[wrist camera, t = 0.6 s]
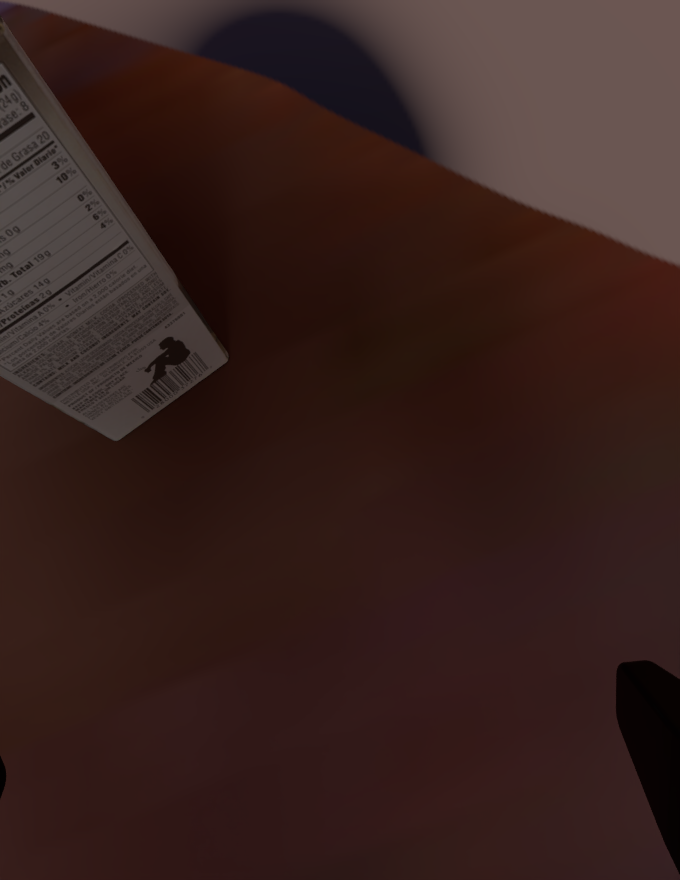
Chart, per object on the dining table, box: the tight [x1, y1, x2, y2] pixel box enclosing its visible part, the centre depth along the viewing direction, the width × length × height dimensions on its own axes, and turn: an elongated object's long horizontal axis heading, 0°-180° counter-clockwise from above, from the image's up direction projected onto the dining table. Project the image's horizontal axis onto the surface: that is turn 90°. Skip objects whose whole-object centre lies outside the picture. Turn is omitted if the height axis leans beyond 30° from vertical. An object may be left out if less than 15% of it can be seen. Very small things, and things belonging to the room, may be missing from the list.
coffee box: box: [0, 16, 229, 441], centre depth 19 cm, size 9×6×16 cm
